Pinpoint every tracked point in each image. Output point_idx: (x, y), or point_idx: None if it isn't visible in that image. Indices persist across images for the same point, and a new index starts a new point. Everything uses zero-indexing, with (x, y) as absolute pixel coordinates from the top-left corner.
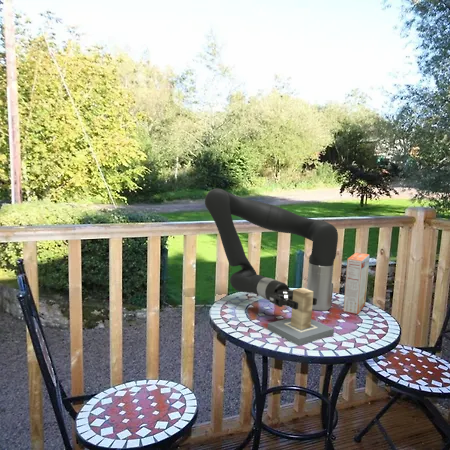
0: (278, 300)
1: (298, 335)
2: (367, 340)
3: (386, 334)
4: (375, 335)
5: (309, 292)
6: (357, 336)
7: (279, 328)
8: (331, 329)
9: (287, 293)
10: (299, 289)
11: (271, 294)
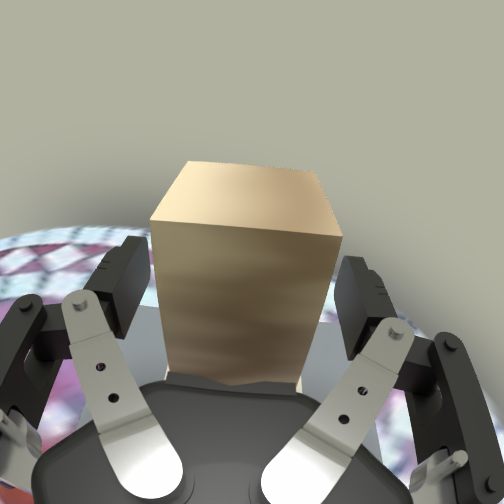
0: (434, 417)
1: (331, 344)
2: (100, 254)
3: (29, 244)
4: (50, 254)
5: (242, 165)
6: (88, 276)
7: (370, 437)
8: (141, 306)
9: (239, 473)
10: (262, 211)
11: (501, 476)
